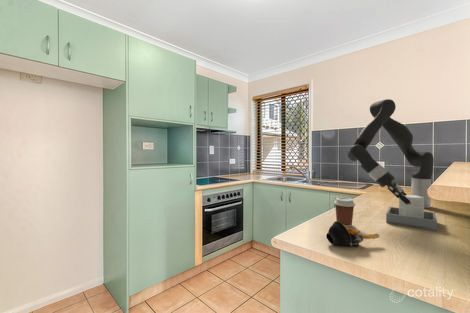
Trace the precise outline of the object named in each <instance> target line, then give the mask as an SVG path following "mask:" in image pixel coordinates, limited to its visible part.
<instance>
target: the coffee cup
mask: <svg viewBox="0 0 470 313" xmlns="http://www.w3.org/2000/svg"><path fill="white" fill-rule="evenodd" d="M333 204H334V205H335V207H334V208H335V219H336V221H337V222H340V223H341V224H343V225H345V227H346V228H350V227H353V220H354V219H353V216H354V207H356V203H355V202H354V200H353V199H352V198H350V197H349V198H348V197H337V198H336V199H335V200H334V201H333Z"/></svg>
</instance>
